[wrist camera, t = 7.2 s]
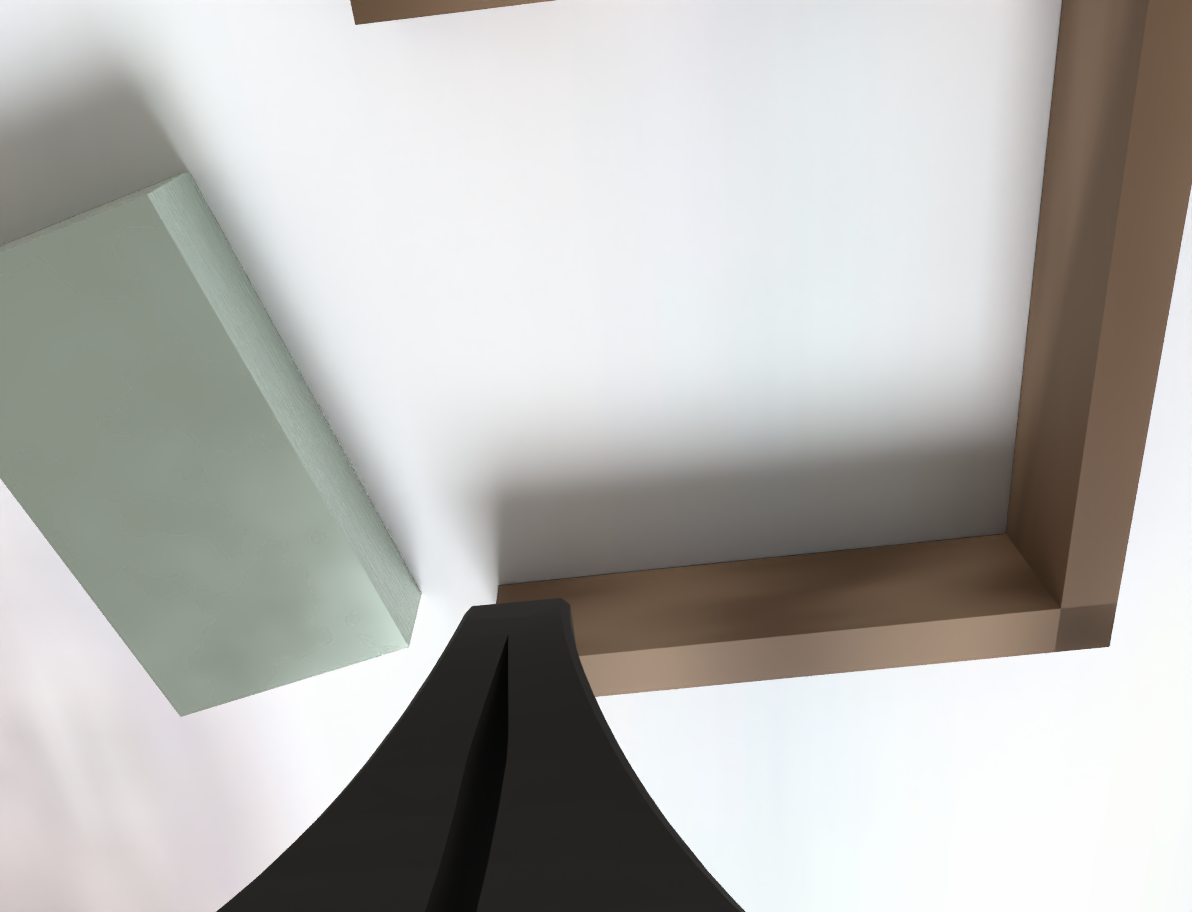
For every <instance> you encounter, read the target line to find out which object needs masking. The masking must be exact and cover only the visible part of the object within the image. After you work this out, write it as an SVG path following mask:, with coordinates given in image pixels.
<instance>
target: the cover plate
mask: <svg viewBox="0 0 1192 912" xmlns="http://www.w3.org/2000/svg"><path fill="white" fill-rule="evenodd" d="M0 478H1V480H2V481H3V482H4V484H5V485H6V486H7V488H8V489H9V490H10V492H11V493H12V494H13V496H14V497H15V498H16V499H17V501H18V502H19V503H20V505H21V506H22V507H23V509H24V510H25V511H26V513H27V514H28V515H29V517H30V518H31V519H32V521H33V522H34V523H35V525H36V526H37V527H38V529H39V530H40V531H41V533H42V534H43V535H44V537H45V538H46V539H47V541H48V542H49V543H50V545H51V546H52V547H53V548H54V550H55V551H56V552H57V554H58V555H59V556H60V558H61V559H62V560H63V562H64V563H65V564H66V566H67V567H68V568H69V570H70V571H71V572H72V574H73V575H74V576H75V578H76V579H77V580H78V582H79V583H80V584H81V586H82V587H83V588H84V590H85V591H86V592H87V593H88V595H89V596H90V597H91V599H92V600H93V601H94V603H95V604H96V605H97V607H98V608H99V609H100V611H101V612H102V613H103V615H104V616H105V617H106V619H107V620H108V621H109V623H110V624H111V625H112V627H113V628H114V629H115V631H116V632H117V633H118V635H119V636H120V637H121V639H122V640H123V641H124V642H125V644H126V645H127V646H128V648H129V649H130V650H131V652H132V653H133V654H134V656H135V657H136V658H137V660H138V661H139V662H140V664H141V665H142V666H143V668H144V669H145V670H146V672H147V673H148V674H149V676H150V677H151V678H152V680H153V681H154V682H155V684H156V685H157V686H158V687H159V689H160V690H161V691H162V693H163V694H164V695H165V697H166V698H167V699H168V701H169V702H170V703H171V705H172V706H173V707H174V709H175V710H176V711H177V713H178V714H179V715H180V717H182V716H185V715H188V714H191V713H195V712H198V711H201V710H205V709H208V708H211V707H214V706H218V705H221V704H224V703H227V702H231V701H234V700H237V699H240V698H244V697H247V696H250V695H254V694H257V693H260V692H263V691H267V690H270V689H273V688H276V687H280V686H283V685H286V684H290V683H293V682H296V681H299V680H303V679H306V678H309V677H312V676H316V675H319V674H322V673H326V672H329V671H332V670H335V669H339V668H342V667H345V666H348V665H352V664H355V663H358V662H361V661H365V660H368V659H371V658H375V657H378V656H381V655H384V654H388V653H391V652H394V651H397V650H401V649H404V648H407V647H409V644H410V640H411V635H412V631H413V627H414V623H415V619H416V615H417V610H418V606H419V602H420V598H421V592H420V590H419V588H418V586H417V584H416V583H415V581H414V579H413V577H412V575H411V574H410V572H409V570H408V568H407V566H406V564H405V563H404V561H403V559H402V557H401V555H400V554H399V552H398V550H397V548H396V546H395V544H394V543H393V541H392V539H391V537H390V535H389V534H388V532H387V530H386V528H385V526H384V524H383V523H382V521H381V519H380V517H379V515H378V514H377V512H376V510H375V508H374V506H373V505H372V503H371V501H370V499H369V497H368V495H367V494H366V492H365V490H364V488H363V486H362V485H361V483H360V481H359V479H358V477H357V475H356V474H355V472H354V470H353V468H352V466H351V465H350V463H349V461H348V459H347V457H346V455H345V454H344V452H343V450H342V448H341V446H340V445H339V443H338V441H337V439H336V437H335V435H334V434H333V432H332V430H331V428H330V426H329V425H328V423H327V421H326V419H325V417H324V415H323V414H322V412H321V410H320V408H319V406H318V405H317V403H316V401H315V399H314V397H313V395H312V394H311V392H310V390H309V388H308V386H307V385H306V383H305V381H304V379H303V377H302V375H301V374H300V372H299V370H298V368H297V366H296V365H295V363H294V361H293V359H292V357H291V355H290V354H289V352H288V350H287V348H286V346H285V345H284V343H283V341H282V339H281V337H280V335H279V334H278V332H277V330H276V328H275V326H274V325H273V323H272V321H271V319H270V317H269V315H268V314H267V312H266V310H265V308H264V306H263V305H262V303H261V301H260V299H259V297H258V295H257V294H256V292H255V290H254V288H253V286H252V285H251V283H250V281H249V279H248V277H247V275H246V274H245V272H244V270H243V268H242V266H241V265H240V263H239V261H238V259H237V257H236V255H235V254H234V252H233V250H232V248H231V246H230V245H229V243H228V241H227V239H226V237H225V235H224V234H223V232H222V230H221V228H220V226H219V225H218V223H217V221H216V219H215V217H214V215H213V214H212V212H211V210H210V208H209V206H208V205H207V203H206V201H205V199H204V197H203V195H202V194H201V192H200V190H199V188H198V186H197V185H196V183H195V181H194V179H193V177H192V175H191V174H190V172H189V171H186V172H184V173H181V174H179V175H176V176H174V177H171V178H169V179H166V180H164V181H161V182H159V183H156V184H154V185H151V186H149V187H146V188H144V189H141V190H139V191H136V192H134V193H131V194H129V195H126V196H124V197H121V198H119V199H116V200H114V201H111V202H109V203H106V204H104V205H101V206H99V207H96V208H94V209H91V210H89V211H86V212H84V213H81V214H79V215H76V216H74V217H71V218H69V219H66V220H64V221H61V222H59V223H56V224H54V225H51V226H49V227H46V228H44V229H41V230H39V231H36V232H34V233H31V234H29V235H26V236H24V237H21V238H19V239H16V240H14V241H11V242H9V243H6V244H4V245H1V246H0Z"/></svg>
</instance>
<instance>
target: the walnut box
mask: <svg viewBox="0 0 1192 912" xmlns="http://www.w3.org/2000/svg"><path fill="white" fill-rule="evenodd" d="M350 1H351V6H352V11H353V16H354V20H355V25H358V24H366V23H374V22H383V21H391V20H399V19H407V18H415V17H423V16H431V15H440V14H448V13H456V12H464V11H472V10H480V9H488V8H496V7H505V6H513V5H521V4H529V3H537V2H545V1H553V0H350ZM1191 185H1192V0H1063V2H1062V12H1061V21H1060V31H1059V40H1058V49H1057V59H1056V68H1055V78H1054V87H1053V96H1052V106H1051V115H1050V124H1049V134H1048V143H1047V153H1046V162H1045V171H1044V181H1043V190H1042V200H1041V209H1040V218H1039V228H1038V237H1037V246H1036V256H1035V265H1034V275H1033V284H1032V293H1031V303H1030V312H1029V322H1028V331H1027V340H1026V350H1025V359H1024V368H1023V378H1022V387H1021V397H1020V406H1019V415H1018V425H1017V434H1016V444H1015V453H1014V462H1013V472H1012V481H1011V490H1010V500H1009V509H1008V519H1007V528H1006V534H1000V535H990V536H980V537H970V538H960V539H951V540H941V541H931V542H921V543H911V544H902V545H892V546H882V547H872V548H862V549H852V550H843V551H833V552H823V553H813V554H803V555H793V556H784V557H774V558H764V559H754V560H744V561H735V562H725V563H715V564H705V565H695V566H685V567H676V568H666V569H656V570H646V571H636V572H626V573H617V574H607V575H597V576H587V577H577V578H568V579H558V580H548V581H538V582H528V583H518V584H509V585H499V586H498V593H497V601H496V604H502V603H512V602H523V601H534V600H545V599H555V598H562V599H563V600H565V601H566V602H567V603H569V604H570V606H571V613H572V620H573V627H574V634H575V641H576V648H577V651H578V655H579V658H580V661H581V664H582V667H583V669H584V672H585V675H586V677H587V679H588V682H589V684H590V686H591V689H592V691H593V694H594V696H595V697H598V696H608V695H618V694H629V693H639V692H649V691H659V690H670V689H680V688H690V687H700V686H711V685H721V684H731V683H742V682H752V681H762V680H772V679H783V678H793V677H803V676H813V675H824V674H834V673H844V672H854V671H865V670H875V669H885V668H896V667H906V666H916V665H926V664H937V663H947V662H957V661H967V660H978V659H988V658H998V657H1009V656H1019V655H1029V654H1039V653H1050V652H1060V651H1070V650H1080V649H1091V648H1101V647H1109V646H1110V640H1111V634H1112V629H1113V623H1114V618H1115V612H1116V606H1117V601H1118V595H1119V589H1120V584H1121V578H1122V573H1123V567H1124V561H1125V556H1126V550H1127V544H1128V539H1129V533H1130V528H1131V522H1132V516H1133V511H1134V505H1135V500H1136V494H1137V488H1138V483H1139V477H1140V471H1141V466H1142V460H1143V455H1144V449H1145V443H1146V438H1147V432H1148V426H1149V421H1150V415H1151V410H1152V404H1153V398H1154V393H1155V387H1156V382H1157V376H1158V370H1159V365H1160V359H1161V353H1162V348H1163V342H1164V337H1165V331H1166V325H1167V320H1168V314H1169V308H1170V303H1171V297H1172V292H1173V286H1174V280H1175V275H1176V269H1177V264H1178V258H1179V252H1180V247H1181V241H1182V235H1183V230H1184V224H1185V219H1186V213H1187V207H1188V202H1189V196H1190V190H1191Z"/></svg>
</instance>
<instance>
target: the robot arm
mask: <svg viewBox="0 0 1192 912" xmlns="http://www.w3.org/2000/svg"><path fill="white" fill-rule="evenodd" d="M217 912H745V911H744V910H743V909H742V908H741V907H740V906H739V905H738V904H737V903H736V902H735V900H734V899H733V898H732V897H731V896H730V895H729V894H728V893H727V892H726V891H725V889H724V888H723V887H722V886H721V885H720V884H719V883H718V882H717V881H716V880H715V878H714V877H713V876H712V875H711V874H710V873H709V872H708V871H707V870H706V868H705V867H704V866H703V865H702V863H701V862H700V861H699V860H698V858H697V857H696V856H695V855H694V853H693V852H692V851H691V850H690V848H689V847H688V846H687V845H686V843H685V842H684V841H683V840H682V838H681V837H680V836H679V835H678V833H677V832H676V831H675V830H674V828H673V827H672V826H671V825H670V823H669V822H668V821H667V819H666V818H665V817H664V815H663V814H662V812H661V811H660V809H659V808H658V807H657V805H656V804H655V802H654V801H653V799H652V798H651V797H650V795H649V794H648V792H647V791H646V789H645V787H644V786H643V784H642V783H641V781H640V780H639V778H638V777H637V775H636V773H635V772H634V770H633V769H632V767H631V765H630V764H629V762H628V760H627V759H626V757H625V755H624V753H623V752H622V750H621V748H620V746H619V745H618V743H617V741H616V739H615V737H614V735H613V733H612V731H611V729H610V727H609V726H608V724H607V722H606V720H605V718H604V716H603V714H602V711H601V709H600V707H599V705H598V703H597V701H596V698H595V696H594V694H593V691H592V689H591V686H590V684H589V682H588V679H587V677H586V675H585V672H584V669H583V667H582V664H581V661H580V658H579V655H578V651H577V648H576V641H575V634H574V627H573V620H572V613H571V606H570V604H569V603H567V602H566V601H565V600H563V599H562V598H555V599H545V600H534V601H523V602H512V603H502V604H491V605H480V606H472V607H471V608H470V609H469V610H468V611H467V612H466V613H465V615H464V617H463V618H462V620H461V622H460V624H459V626H458V627H457V629H456V631H455V633H454V635H453V636H452V638H451V640H450V641H449V643H448V645H447V647H446V648H445V650H444V652H443V653H442V655H441V657H440V658H439V660H438V661H437V663H436V665H435V666H434V668H433V669H432V671H431V673H430V674H429V676H428V677H427V679H426V680H425V682H424V683H423V685H422V686H421V688H420V689H419V691H418V692H417V694H416V695H415V697H414V698H413V700H412V701H411V703H410V704H409V706H408V707H407V709H406V710H405V712H404V713H403V715H402V716H401V717H400V719H399V720H398V722H397V723H396V724H395V726H394V727H393V728H392V730H391V731H390V732H389V733H388V735H387V736H386V737H385V739H384V740H383V741H382V743H381V744H380V745H379V747H378V748H377V749H376V751H375V752H374V753H373V755H372V756H371V757H370V759H369V760H368V761H367V762H366V764H365V765H364V766H363V767H362V769H361V770H360V771H359V772H358V773H357V775H356V776H355V777H354V778H353V779H352V781H351V782H350V783H349V784H348V785H347V787H346V788H345V789H344V790H343V791H342V792H341V793H340V795H339V796H338V797H337V798H336V799H335V800H334V801H333V802H332V803H331V805H330V806H329V807H328V808H327V809H326V810H325V811H324V812H323V813H322V814H321V816H320V817H319V818H318V819H317V820H316V821H315V822H314V823H313V824H312V825H311V826H310V827H309V828H308V829H307V830H306V831H305V832H304V833H303V834H302V835H301V836H300V837H299V838H298V839H297V840H296V841H295V842H294V843H293V844H292V845H291V846H290V847H289V848H288V849H287V850H286V851H285V852H283V853H282V854H281V855H280V856H279V857H278V858H277V859H276V860H275V861H274V862H273V863H272V864H271V865H270V866H269V867H268V868H267V869H266V870H265V871H264V872H262V873H261V874H260V875H259V876H258V877H257V878H256V879H255V880H253V881H252V882H251V883H250V884H249V885H248V886H246V887H245V888H244V889H243V890H242V891H241V892H239V893H238V894H237V895H236V896H235V897H233V898H232V899H231V900H230V901H229V902H228V903H226V904H225V905H224V906H223V907H222V908H220V909H219V910H218V911H217Z"/></svg>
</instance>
